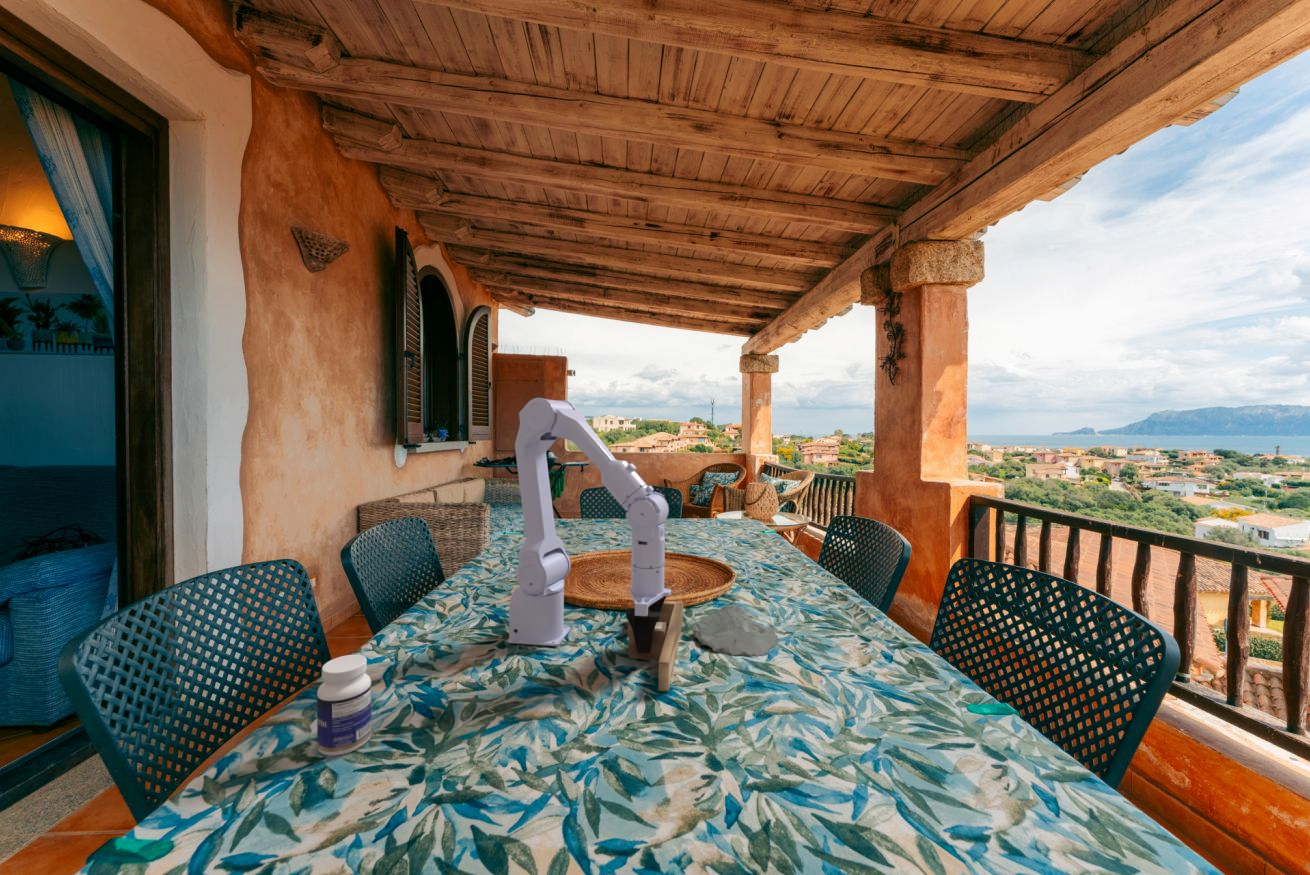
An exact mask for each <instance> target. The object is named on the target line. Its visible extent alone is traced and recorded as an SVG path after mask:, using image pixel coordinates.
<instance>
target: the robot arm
mask: <svg viewBox="0 0 1310 875" xmlns="http://www.w3.org/2000/svg"><path fill="white" fill-rule="evenodd" d="M518 416H519V428H518V431H517V435H516V438H515V442H514V450H515V458H516V467H517V475H518V483H519V492H520V500H521V507H522V508H521V510H522V515H523V517H522V518H523V525H524V532H525V534H524V535H525V540H524V543H523V544H522V546H521V547H520V549H519V551H518V553H517V554H518V565H517V568H516V572H515V576H516V577H515V578H516V582H517V584H518V586H519V587H517V588H515V589H514V590H513V592H512V594H511V597H510V600H509V607H508V608H509V609H508V610H509V611H508V612H509V613H508V614H509V617H508V618H509V619H508V622H509V623H508V627H509V629H508V630H509V631H508V632H509V634H508V639H507V643H509V644H518V645H519V644H521V645H532V646H533V645H534V646H535V645H536V646H549V647H558V646H559V645H560V644H561V642H562V641H563V640H564V638H566V636H567V635H568V633H569V632H570V631H571V627H570V626H566V625H564V615H565V614H564V612H565V610H564V609H565V607H564V604H565V603H564V602H565V598H564V596H565V594H564V593H565V588H564V587H565V579H566V578H567V576H568V575H569V574H570V572H571V560H570V557H569V555H568V554H567V552H566V550H565V545H564V544H565V543H564V541H563V539H561V538H560V537H559V536H558V535H557V534H556V533H557V532H556V526H555V524H556V523H555V516H554V508H553V499H552V492H551V491H552V490H551V484H550V477H549V476H550V474H549V468H548V460H547V459H548V458H547V451H548V450H549V449H550V448H551V447H552V445H553V444H554V443H555V442H556V441H557V440H558V439H565V440H567V441H571V442H572V443H573V444H574V445H575V446H576V447H577V448H578V449H579V450H580V451H581V452H582V453H583V455H585V456H586V458H588V459H589V461H590V462H591V463H592V464H593V465H595V467H596V468H597V469H598V470H599V471H600V472H601V474H600V475H601V476H600V478H601V479H600V480H601V484H602V485H603V486H604V487H605V488H606V489H607V491H608V492H609V494H611V496H613V497H614V499H615V500H616V501H617V502H618V503H619V505H620V506H621V507H622V508H623V509H624V510H625V511H626V512H625V516H626V521H627V523H628V525H629V526H630V527H631V558H630V559H631V560H630V561H631V562H630V564H631V566H630V568H631V570H630V571H631V577H630V582H631V583H630V584H631V585H630V589H629V595H630V598H631V599H632V601H633V604H634V603H635V609H634V608H629V607H628V608H627V609H626V611H625V618H626V620H627V622H628V621H629V623H630V625H631V628H632V631H633V634H634V639H635V645H636V649H637V652H638V653H648V654H649V653H650V651H651V647H652V642H653V635H654V630H655V626H656V623H657V622H659V618H660V614H661V608H662V605H663V603H664V601H666V599H667V597H670V596H671V594H672V589H671V588H665V561H666V559H665V552H666V550H665V546H666V544H665V543H666V537H665V523H664V522H665V521H666V520H667V519H668V516H669V513H670V507H669V503H668V502H667V499H666V498H665V495H664V494H663V493H661V492H660V493H659V492H657V491H654V487H653V486H652V485H648V484H647V483H646V482H645V481H644V479H643V478H642V477H641V476H640V475H639V474H638V473H637V472H636V470H637V466H635V464H634V463H629V462H628V461H627V460H623V459H622V460H621V459H616V458H615V456H614V455H613V453H611V451H610V450H609V449H608V448H607V446H606V445H605V444H604V442H603V441H602V440H601V438H600V437H599V436H598V434H596V432H595V431H594V429H593V428H592V426H590V425H589V423H588V422H587V420H586V418H585V417H584V415H583V413H581V412H580V411H579V410H577V409H576V407H575V405H574V404H572V402H571V401H570V402H569V401H568V400H563V399H561V400H560V399H559V400H557V399H555V400H554V399H549V398H548V399H547V398H543V397H535V398H532V399H530V400H529V401H528V402H527V403H526V404H525V406H524V407H523V408H522V409H521V410H520V411H519V412H518Z"/></svg>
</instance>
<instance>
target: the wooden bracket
mask: <svg viewBox="0 0 1310 875" xmlns="http://www.w3.org/2000/svg"><path fill="white" fill-rule="evenodd" d="M633 609H635V603H634V602H633ZM659 622H667V623H666V624H668V627H667V629H666V637H665V641H664V645H663V648H662V652H661V656H660V659H659V660H658V692H659V691H660V692H669V690H670V686H671V682H672V677H673V671H674V666H675V662H676V657H677V653H678V649H679V642H680V638H681V634H682V628H683V623H684V601H673V600H665V601H664V603H663V605H662V608H661V614H660V618H659ZM626 628H627V633H626V634H627V637H629V628H630V623H629V621H628V620H627V625H626Z"/></svg>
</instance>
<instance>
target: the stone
mask: <svg viewBox="0 0 1310 875" xmlns="http://www.w3.org/2000/svg"><path fill="white" fill-rule="evenodd" d="M692 632H693V637H694V639H696V640H698V643H700V645H701V646H707V647H709V648H711V650H712V651H713V652H714V653H718V654H725V655H729V656H731V657H737V656H742V657H743V656H744V657H749V658H751V657H752V658H753V657H756V658H759V657H764V656H765V655H768V654H769V653H770V650H771V649H772V648H775V647H776V646H777V645H778V643H779V641H778V635H777V634H776V630H775V627H771V626H765V625H762V624H760V623H759V622H756V621H755V620H753V619H752V618H751V617H750V616H749V615H748V614H747V613H746V612H745V609H744V608H743V607H741V606H739V605H736V604H730V605H724V606H722V607H721V608H720V609H718V610H716V611H715V612H713V613H711V614H709V615H708V616H705V617H702V618H701V619H700V620H698V621H695V622H694V625H693V627H692Z"/></svg>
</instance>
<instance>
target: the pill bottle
mask: <svg viewBox="0 0 1310 875" xmlns="http://www.w3.org/2000/svg"><path fill="white" fill-rule="evenodd" d="M367 669H368V663H367V657H366V656H365V655H362V654H347V655H342V656H338V657H336V658H332V659H330V660H329V661H326V663H324V664H323V666H322V668H321V679H322V680H323V682H322V683H321V684H320V685H319V686H318V689H317V692H316V707H317V708H316V713H317V714H316V718H317V721H316V723H317V724H316V726H317V729H316V730H317V734H316V735H317V737H316V738H317V740H316V742H317V746H316V748H317V750H318V751H319V753H321V754H323V755H324V756H329V757H332V756H333V757H334V756H341V755H345V754H349V753H352V752H353V751H356V750H358V749H360V748H361V747H362V746H364V745H366V744H367V743H368V741H369V740H370V738H371V737H372V732H373V731H372V727H373V724H372V720H373V719H372V679H371V677H370V676H369V675H368V674H367V673H365V672H366V671H367Z"/></svg>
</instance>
